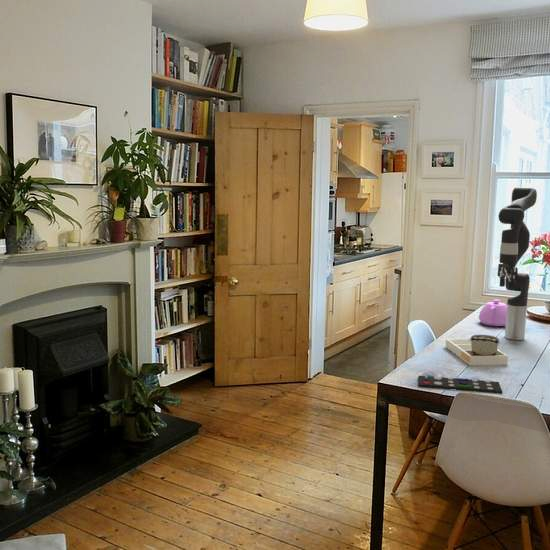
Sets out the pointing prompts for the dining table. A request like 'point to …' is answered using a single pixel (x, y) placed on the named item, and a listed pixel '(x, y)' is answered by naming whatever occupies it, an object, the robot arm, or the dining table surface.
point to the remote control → (459, 384)
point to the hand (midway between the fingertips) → (506, 288)
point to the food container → (484, 345)
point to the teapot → (493, 313)
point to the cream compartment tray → (465, 353)
